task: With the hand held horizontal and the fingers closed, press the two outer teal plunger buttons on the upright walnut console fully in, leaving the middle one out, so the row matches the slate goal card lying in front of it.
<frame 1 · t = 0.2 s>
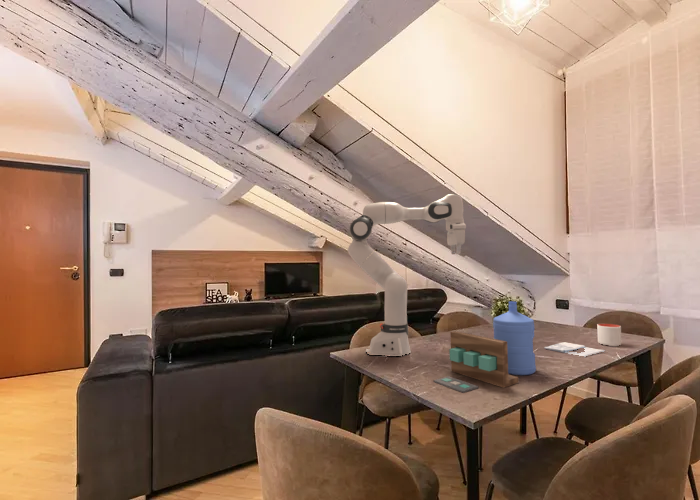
hand: (455, 254, 182), 48 cm above the table, tool pointing down, fingers open, 8 cm apart
walnut console: (478, 378, 141), on the table
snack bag: (574, 352, 178), on the table
water jug: (514, 370, 150), on the table
cup: (609, 345, 189), on the table
goal card: (455, 384, 134), on the table
button far: (459, 354, 146), point 8 cm above the table, slide at 0.0 cm
button near: (489, 362, 134), point 8 cm above the table, slide at 0.0 cm
button middle: (474, 358, 140), point 8 cm above the table, slide at 0.0 cm
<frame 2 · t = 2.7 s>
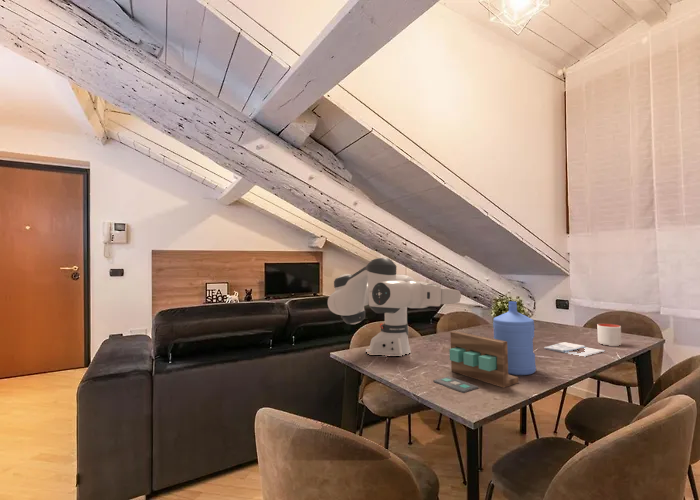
hand: (448, 295, 126), 34 cm above the table, tool horizontal, fingers open, 8 cm apart
nothing on the table moved.
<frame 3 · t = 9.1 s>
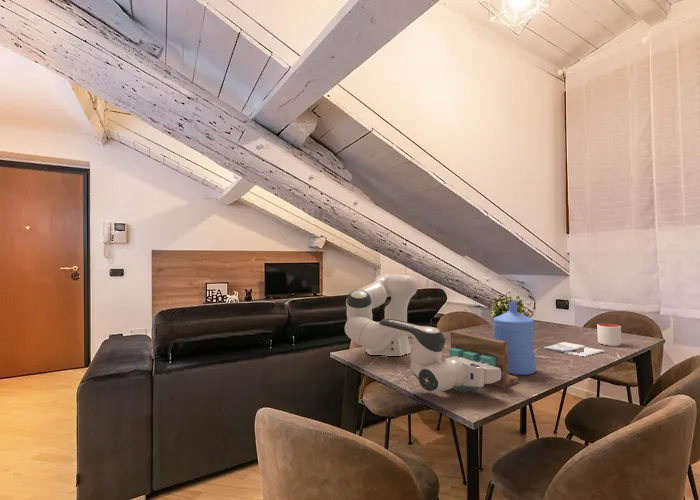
hand: (485, 364, 132), 8 cm above the table, tool horizontal, fingers closed, pressing on button near
button near: (490, 361, 134), point 8 cm above the table, slide at 0.6 cm, touching gripper
everything else where it was.
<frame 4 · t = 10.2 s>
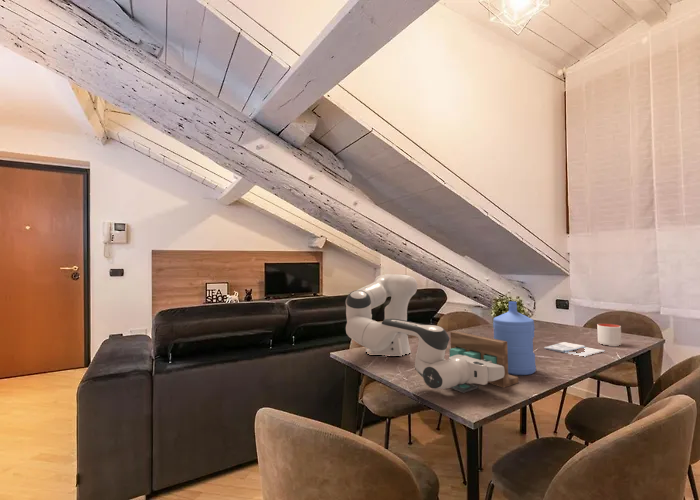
hand: (489, 362, 134), 8 cm above the table, tool horizontal, fingers closed, pressing on button near
button near: (494, 360, 136), point 8 cm above the table, slide at 3.0 cm, touching gripper
everything else where it was.
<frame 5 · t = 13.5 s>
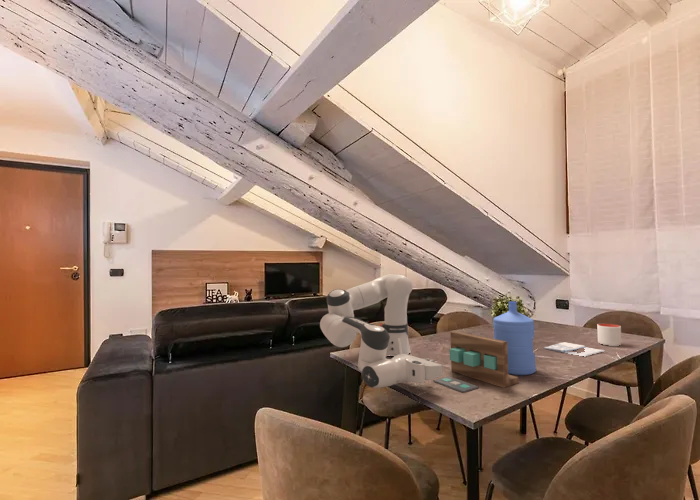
hand: (432, 361, 137), 8 cm above the table, tool horizontal, fingers closed
button near: (494, 360, 136), point 8 cm above the table, slide at 3.0 cm
everything else where it was.
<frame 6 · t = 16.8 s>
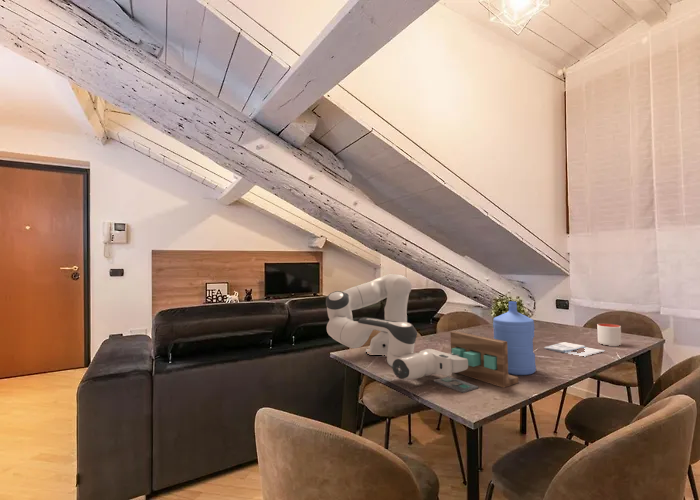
hand: (456, 356, 144), 8 cm above the table, tool horizontal, fingers closed, pressing on button far
button far: (461, 353, 147), point 8 cm above the table, slide at 1.3 cm, touching gripper
everything else where it was.
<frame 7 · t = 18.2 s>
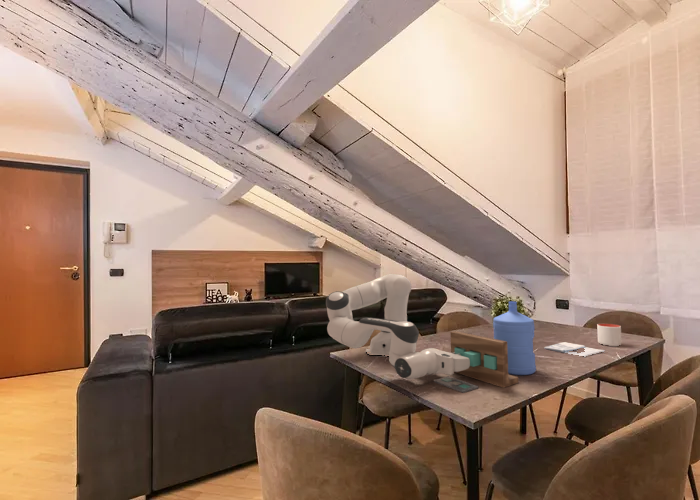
hand: (458, 355, 145), 8 cm above the table, tool horizontal, fingers closed
button far: (464, 353, 147), point 8 cm above the table, slide at 3.0 cm
everything else where it was.
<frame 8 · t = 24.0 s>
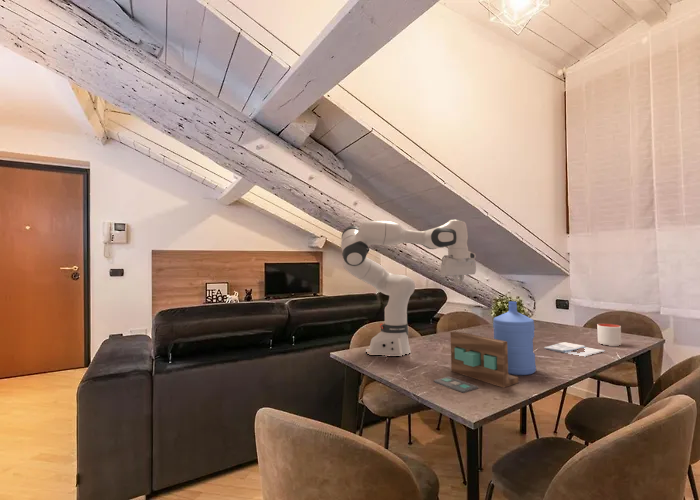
hand: (458, 285, 167), 34 cm above the table, tool pointing down, fingers closed
nothing on the table moved.
at the end: button near slide at 3.0 cm; button far slide at 3.0 cm; button middle slide at 0.0 cm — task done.
